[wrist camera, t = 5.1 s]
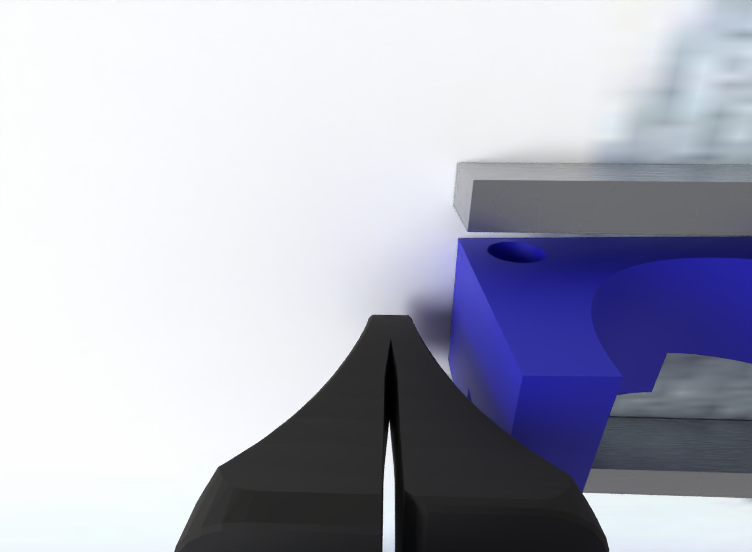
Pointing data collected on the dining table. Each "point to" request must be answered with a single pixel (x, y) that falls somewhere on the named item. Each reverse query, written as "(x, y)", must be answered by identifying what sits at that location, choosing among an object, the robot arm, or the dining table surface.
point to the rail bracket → (630, 216)
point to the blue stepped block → (588, 328)
